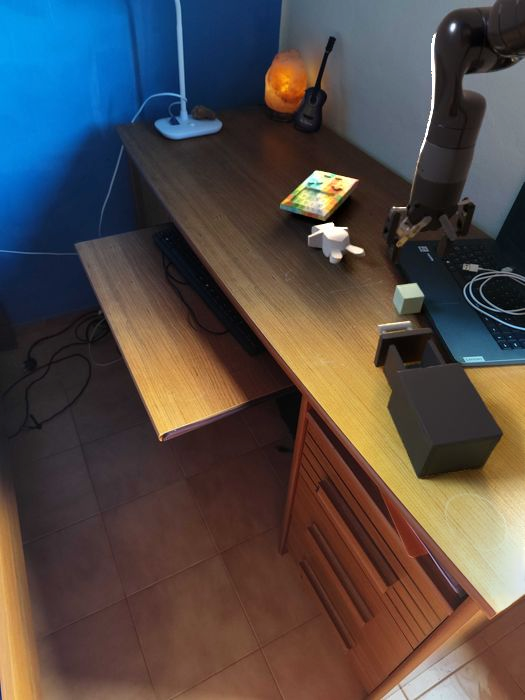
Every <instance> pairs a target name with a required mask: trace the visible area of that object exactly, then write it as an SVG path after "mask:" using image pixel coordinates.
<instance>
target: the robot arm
mask: <svg viewBox="0 0 525 700" xmlns="http://www.w3.org/2000/svg"><path fill="white" fill-rule="evenodd" d="M436 28H437V29H435V32H434V35H433V38H432V43H431V71H432V72H431V74H432V76H431V77H432V95H431V97H432V99H431V111H430V115H429V118H428V120H429V121H428V123H427V128H426V132H425V136H424V140H423V143H422V145H421V148H420V151H419V155H418V159H417V162H416V168H415V172H414V177H413V180H412V186H411V189H410V194H409V195H410V196H409V202H408V204H407V205H406V206H405V207H397V206H396V204H390V205H389V206H388V207H387V211H386V216H385V220H384V224H383V228H382V232H381V237H382V238H383V240H384V241H385V243H386V245H388V246H390V247H389V251H388V257H389V258H390V260H391V262H392V263H393V264H394V265H398V264H400V262H401V258H402V254H403V249H404V246H403V245H404V244H405V243H407V241H409V239H413V238H414V237H415V236H416V235H417V234H418V233H426V232H429V231H430V232H436V231H438V230H440V229H442V231H443V233H444V234H441V236H440V239H439V243H438V246H437V250H436V254H437V255H438V257H439V258H440V259H441V260H442V259H443V260H444V259H446V258H447V256H449V254H450V253H451V250H452V248H453V244H454V242H455V241H456V240H457V238H458V237H462V238H464V237H467V236H468V235H469V231H470V228H471V224H472V221H473V217H474V214H475V211H476V207H477V206H476V204H474V202H473V201H472V200H471V199H470V197H467V196H466V197H463V198H462V196H463V193H464V189H465V185H466V183H467V179H468V176H469V173H470V169H471V166H472V163H473V160H474V156H475V149H476V146H477V145H476V144H477V141H478V137H479V135H480V133H481V132H480V131H481V128H482V125H483V122H484V118H485V117H486V116H485V115H486V111H487V108H488V107H487V98H486V97H485V96H484V95H483V94H481V93H480V92H477V91H475V90H470V89H466V88H464V87H463V80H464V77H465V76H468V75H479V74H490V73H497V72H500V71H503V70H507V69H510V68H512V67H514V66H516V65H517V64H518V63H520V62H521V61H523V60H524V59H525V0H495V2H494V3H493V5H491V6H490V5H489V6H476V7H475V6H474V7H462V8H456V9H453V10H451V11H450V12H448V13H447V14H446V15H445V16H444V17H443V18H442V20H441V21H440V22H439V25H437V27H436ZM461 198H462V199H461ZM456 214H457V217H456V221H455V224H454V226H453V225H452V223H451V221H450V219H452V217H454V215H456ZM405 216H406V217H405ZM404 217H405V218H404ZM410 225H412V227H411V228H410Z"/></svg>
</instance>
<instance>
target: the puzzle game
mask: <svg viewBox="0 0 525 700" xmlns="http://www.w3.org/2000/svg"><path fill="white" fill-rule="evenodd" d="M359 181H360V180H359V179H355V178H351V177H346V176H342V175H338V174H334V173H330V172H325V171H321V170H315V171H314V172H313V173H312V174H311V175H309V176H308V177H307V178H306V179H305V180H304V181H303V182H302V183H301V184H300V185H298V187H297V188H296V189H295V190H294V191H293V192H291V193H290V194H289V195H288V196H287V197H286V198H285V199H284V200H282V201H281V202H280V204H279V209H281V210H285V211H288V212H292V213H295V214H299V215H301V216H306V217H309V218H313V219H315V220H319V221H324V222H326V221H327V220H329V218H330V217H331V216H332V215H333V214H334V213H335V212H336V211H337V210H338V209H339V207H341V205H342V204H343V203H344V202H345V201H346V200H347V199H348V198H349V197H350V195H352V194H353V192H354V191H355V190H356V189H357V187H358V186H359Z"/></svg>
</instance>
